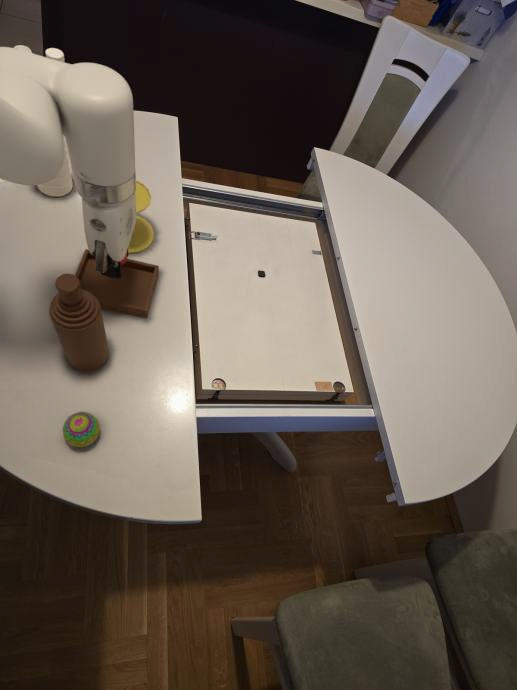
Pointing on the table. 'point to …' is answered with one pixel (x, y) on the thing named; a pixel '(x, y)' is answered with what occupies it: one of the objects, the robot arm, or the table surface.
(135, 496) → the table surface
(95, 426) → the egg
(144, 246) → the candle
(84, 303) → the bottle
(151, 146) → the table surface
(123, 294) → the tray
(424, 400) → the table surface
